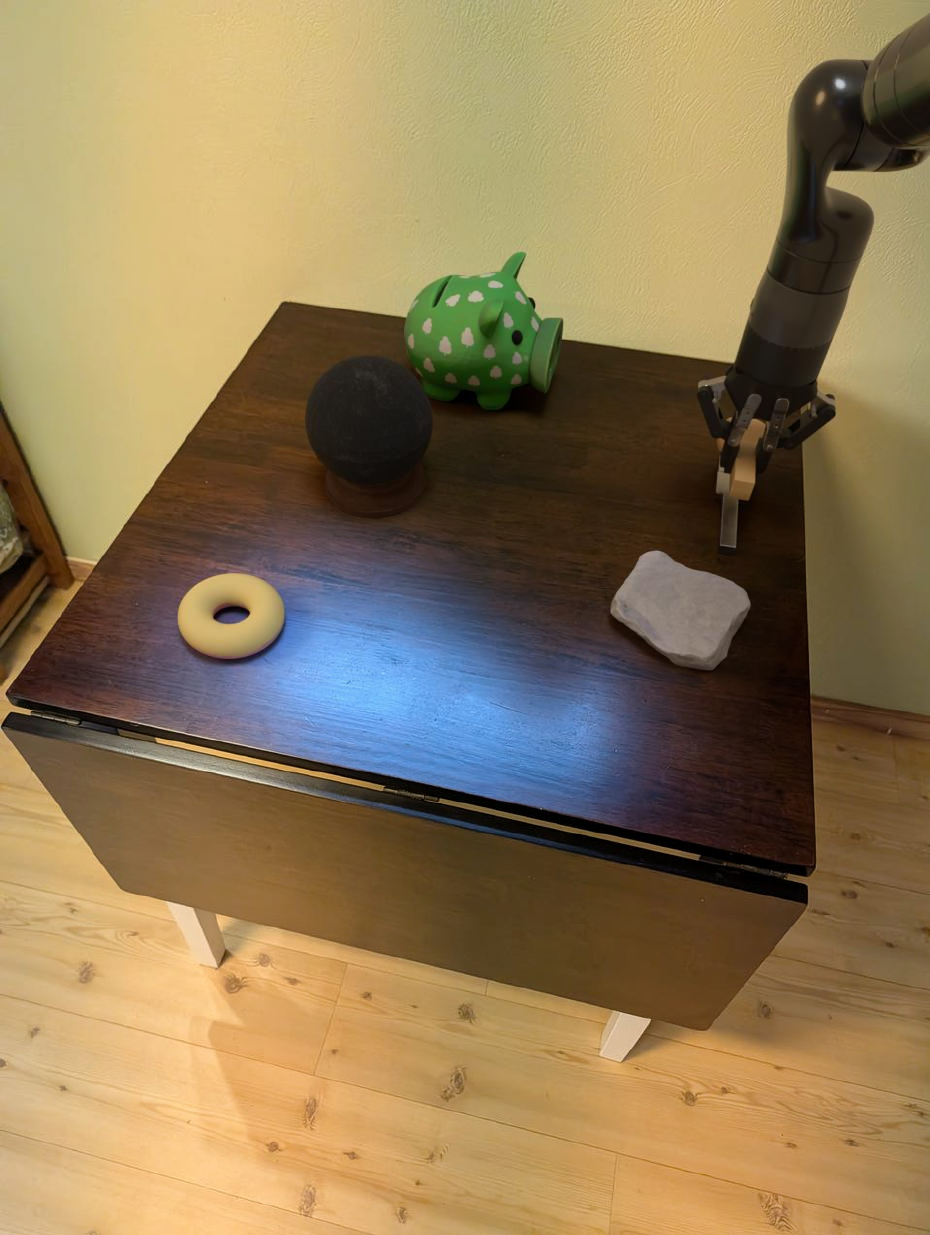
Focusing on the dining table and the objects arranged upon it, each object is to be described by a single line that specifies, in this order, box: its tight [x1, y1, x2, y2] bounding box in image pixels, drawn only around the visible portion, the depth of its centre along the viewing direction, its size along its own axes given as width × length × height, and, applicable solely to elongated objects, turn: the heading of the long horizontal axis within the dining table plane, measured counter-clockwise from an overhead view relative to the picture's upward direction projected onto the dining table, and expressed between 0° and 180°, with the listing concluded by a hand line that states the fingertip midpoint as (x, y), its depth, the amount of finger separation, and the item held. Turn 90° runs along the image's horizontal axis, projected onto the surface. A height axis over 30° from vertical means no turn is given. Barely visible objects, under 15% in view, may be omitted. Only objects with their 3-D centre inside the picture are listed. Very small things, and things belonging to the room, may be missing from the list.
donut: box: [177, 572, 286, 660], centre depth 80 cm, size 10×5×9 cm
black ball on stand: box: [304, 354, 434, 519], centre depth 88 cm, size 13×13×15 cm
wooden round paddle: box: [716, 416, 766, 501], centre depth 87 cm, size 11×5×2 cm, turn 167°
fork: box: [713, 455, 746, 556], centre depth 92 cm, size 14×3×1 cm, turn 167°
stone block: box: [609, 550, 752, 671], centre depth 81 cm, size 12×5×10 cm
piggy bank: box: [403, 251, 564, 411], centre depth 99 cm, size 14×18×15 cm
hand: (740, 470), depth 88 cm, fingers closed on wooden round paddle, 2 cm apart
